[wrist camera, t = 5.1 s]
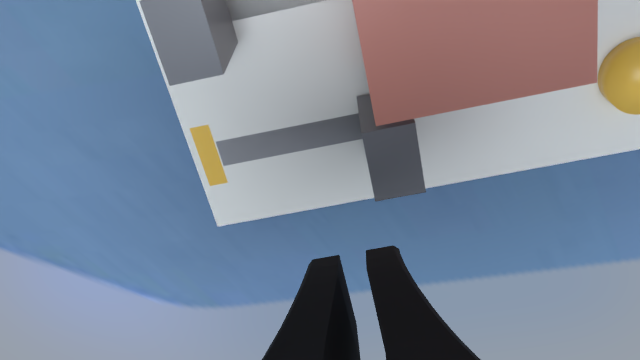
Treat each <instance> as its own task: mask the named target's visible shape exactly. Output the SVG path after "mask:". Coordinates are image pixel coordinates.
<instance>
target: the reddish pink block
mask: <svg viewBox="0 0 640 360" xmlns="http://www.w3.org/2000/svg"><path fill="white" fill-rule="evenodd" d="M352 3H353V8H354V13H355V19H356V24H357V29H358V35H359V40H360V45H361V51H362V56H363V61H364V66H365V72H366V77H367V82H368V87H369V93H370V98H371V103H372V108H373V114H374V119H375V124H376V126H380V125H385V124H390V123H395V122H400V121H405V120H410V119H415V118H420V117H425V116H430V115H435V114H440V113H446V112H451V111H456V110H461V109H466V108H471V107H476V106H481V105H486V104H491V103H496V102H501V101H506V100H512V99H517V98H522V97H527V96H532V95H537V94H542V93H547V92H552V91H557V90H562V89H567V88H572V87H577V86H583V85H588V84H593V83H597V42H598V0H352Z"/></svg>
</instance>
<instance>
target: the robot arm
mask: <svg viewBox="0 0 640 360" xmlns="http://www.w3.org/2000/svg"><path fill="white" fill-rule="evenodd" d="M366 264H367V272H368V277H369V281H370V286H371V290H372V295H373V299H374V303H375V308H376V312H377V317H378V321H379V326H380V330H381V334H382V339H383V343H384V348H385V352H386V360H480V359H479V358H478V357H477V356H476V355H475V354H474V353H473V352H472V351H471V350H470V349H469V348H468V347H467V346H466V345H465V344H464V343H463V342H462V341H461V340H460V339H459V338H458V337H457V336H456V334H455V333H454V332H453V331H452V330H451V329H450V328H449V326H448V325H447V324H446V323H445V322H444V320H442V318H441V317H440V316H439V314H438V313H437V312H436V311H435V309H434V308H433V307H432V306H431V304H430V303H429V302H428V300H427V299H426V297H425V296H424V294H423V293H422V292H421V290H420V289H419V288H418V286H417V284H416V283H415V281H414V280H413V278H412V276H411V275H410V273H409V271H408V269H407V267H406V266H405V264H404V262H403V259H402V257H401V254H400V251H399V249H398V248H396V247H395V246H388V247H382V248H377V249H371V250H366ZM262 360H360V352H359V343H358V335H357V325H356V320H355V316H354V312H353V308H352V304H351V300H350V296H349V292H348V288H347V284H346V280H345V276H344V272H343V268H342V264H341V260H340V256H339V255H337V256H331V257H325V258H319V259H314V260H312V261H311V262H310V264H309V266H308V268H307V271H306V274H305V276H304V279H303V281H302V284H301V286H300V288H299V291H298V293H297V295H296V297H295V300H294V302H293V304H292V306H291V308H290V310H289V312H288V314H287V316H286V318H285V320H284V322H283V324H282V326H281V328H280V330H279V331H278V333H277V335H276V337H275V339H274V340H273V342H272V344H271V345H270V347H269V349H268V351H267V352H266V354H265V356H264V357H263V359H262Z"/></svg>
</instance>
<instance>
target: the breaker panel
mask: <svg viewBox="0 0 640 360" xmlns="http://www.w3.org/2000/svg"><path fill="white" fill-rule="evenodd" d="M136 2H137V5H138V8H139V11H140V13H141V16H142V19H143V22H144V24H145V27H146V30H147V33H148V35H149V38H150V41H151V44H152V47H153V49H154V52H155V55H156V58H157V60H158V63H159V66H160V69H161V71H162V74H163V77H164V80H165V82H166V85H167V88H168V91H169V93H170V96H171V99H172V102H173V104H174V107H175V110H176V113H177V116H178V118H179V121H180V124H181V127H182V129H183V132H184V135H185V138H186V140H187V143H188V146H189V149H190V151H191V154H192V157H193V160H194V162H195V165H196V168H197V171H198V173H199V176H200V179H201V182H202V185H203V187H204V190H205V193H206V196H207V198H208V201H209V204H210V207H211V209H212V212H213V215H214V218H215V220H216V223H217V226H218V227H219V226H224V225H229V224H235V223H240V222H246V221H251V220H257V219H262V218H268V217H273V216H278V215H284V214H289V213H295V212H300V211H306V210H311V209H316V208H322V207H327V206H333V205H338V204H344V203H349V202H355V201H360V200H365V199H371V198H374V193H373V188H372V183H371V178H370V173H369V168H368V163H367V158H366V154H365V149H364V144H363V139H362V134H361V127H360V119H359V112H358V104H357V97H356V96H361V95H366V94H370V93H369V87H368V82H367V77H366V72H365V66H364V61H363V56H362V51H361V45H360V40H359V35H358V29H357V24H356V19H355V13H354V8H353V3H352V0H136ZM414 120H415V124H416V131H417V137H418V144H419V150H420V157H421V163H422V170H423V176H424V183H425V188H431V187H436V186H442V185H447V184H453V183H458V182H463V181H469V180H474V179H480V178H485V177H491V176H496V175H501V174H507V173H512V172H518V171H523V170H529V169H534V168H540V167H545V166H550V165H556V164H561V163H567V162H572V161H578V160H583V159H589V158H594V157H599V156H605V155H610V154H616V153H621V152H627V151H632V150H638V149H640V0H598V42H597V83H593V84H588V85H583V86H577V87H572V88H567V89H562V90H557V91H552V92H547V93H542V94H537V95H532V96H527V97H522V98H517V99H512V100H506V101H501V102H496V103H491V104H486V105H481V106H476V107H471V108H466V109H461V110H456V111H451V112H446V113H440V114H435V115H430V116H425V117H420V118H415V119H414Z"/></svg>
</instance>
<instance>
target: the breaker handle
mask: <svg viewBox="0 0 640 360" xmlns="http://www.w3.org/2000/svg"><path fill="white" fill-rule="evenodd" d="M356 97H357V104H358V112H359V119H360V127H361V134H362V139H363V144H364V149H365V154H366V158H367V163H368V168H369V173H370V178H371V183H372V188H373V193H374V198H375V201H380V200H385V199H391V198H396V197H402V196H407V195H413V194H418V193H424V192H426V189H425V183H424V176H423V170H422V163H421V157H420V150H419V144H418V137H417V131H416V124H415V120H414V119H410V120H405V121H400V122H395V123H390V124H385V125H380V126H376V124H375V119H374V114H373V108H372V103H371V98H370V94H366V95H361V96H356Z"/></svg>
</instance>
